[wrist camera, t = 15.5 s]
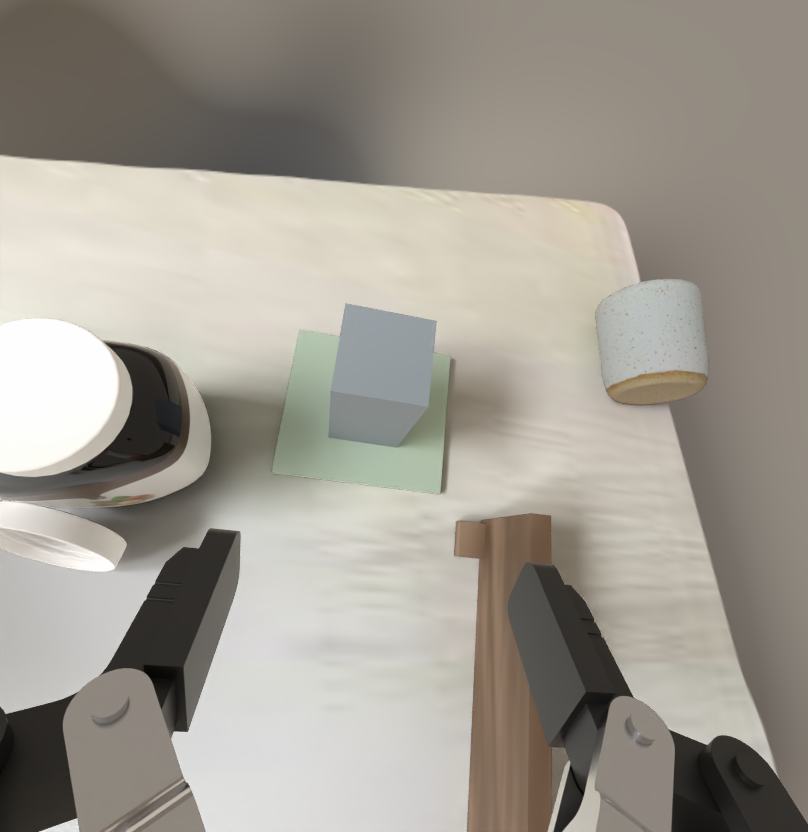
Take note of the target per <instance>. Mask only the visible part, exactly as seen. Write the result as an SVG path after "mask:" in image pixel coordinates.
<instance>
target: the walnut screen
mask: <svg viewBox="0 0 808 832" xmlns="http://www.w3.org/2000/svg"><path fill="white" fill-rule="evenodd" d="M454 556H460V557H470V558H479V578H478V600H477V622H476V645H475V667H474V689H473V711H472V733H471V755H470V778H469V800H468V822H467V832H548V828H549V824H550V821H551V817H552V747H548V744H547V741H546V738H545V735H544V731H543V728H542V725H541V722H540V718H539V715H538V712H537V709H536V705H535V702H534V699H533V696H532V693H531V689H530V686H529V683H528V680H527V676H526V673H525V670H524V667H523V663H522V660H521V657H520V654H519V650H518V647H517V644H516V641H515V638H514V634H513V631H512V628H511V625H510V621H509V617H508V600H509V596H510V594H511V592H512V590H513V588H514V585H515V583H516V581H517V579H518V577H519V575H520V572H521V570H522V568H523V566H524V565H525V563H527V562H531V563H541V564H550V565H551V516H548V515H540V514H523V515H516V516H509V517H501V518H494V519H486V520H481V523H474V522H466V521H456V532H455V549H454Z"/></svg>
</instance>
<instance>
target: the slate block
mask: <svg viewBox="0 0 808 832" xmlns="http://www.w3.org/2000/svg"><path fill="white" fill-rule="evenodd" d="M436 322H437V321H434V320H429V319H424V318H418V317H413V316H408V315H403V314H398V313H393V312H387V311H382V310H377V309H372V308H367V307H362V306H356V305H351V304H345V310H344V316H343V322H342V327H341V333H340V339H339V345H338V351H337V356H336V362H335V368H334V374H333V380H332V386H331V393H330V412H329V432H328V438H335V439H341V440H348V441H355V442H362V443H368V444H375V445H382V446H389V447H395V448H397V446H398V445H399V444H400V443H401V441H402V440H403V439H404V437H405V436H406V435H407V434H408V432H409V431H410V430H411V428H412V427H413V426H414V425H415V423H416V422H417V421H418V419H419V418H420V417H421V416H422V414H423V413H424V412H425V411H426V409H427V408H428V405H429V395H430V384H431V374H432V364H433V353H434V343H435V332H436Z"/></svg>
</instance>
